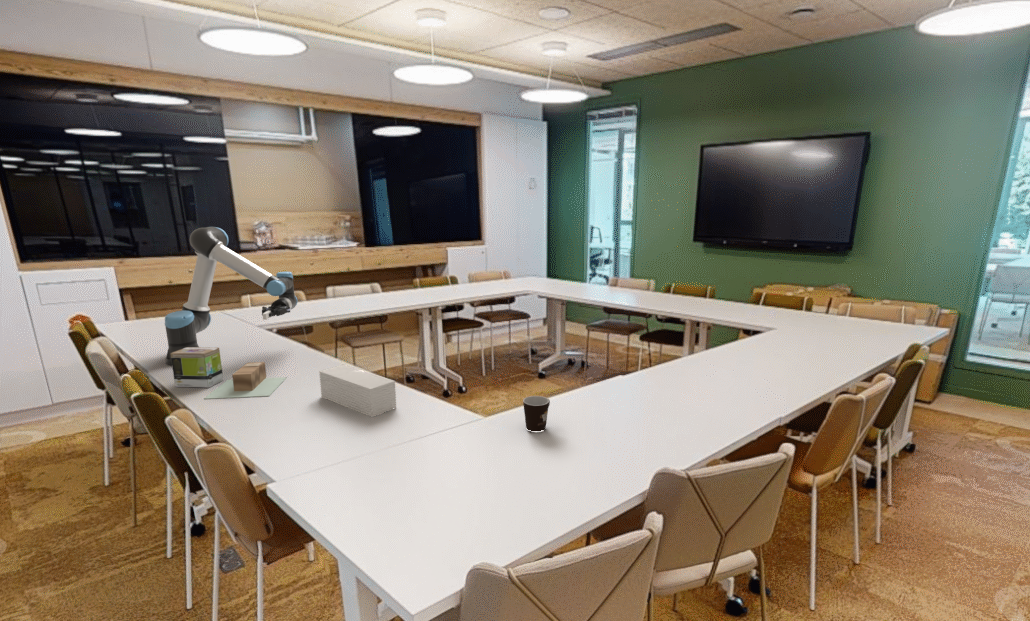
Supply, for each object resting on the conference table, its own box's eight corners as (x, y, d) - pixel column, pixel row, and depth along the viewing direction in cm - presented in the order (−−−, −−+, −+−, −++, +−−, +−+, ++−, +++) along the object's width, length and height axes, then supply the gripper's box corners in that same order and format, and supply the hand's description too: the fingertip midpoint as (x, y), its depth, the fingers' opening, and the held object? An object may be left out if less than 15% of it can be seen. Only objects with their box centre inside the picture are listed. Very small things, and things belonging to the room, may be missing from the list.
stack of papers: (396, 408, 191) (394, 380, 189) (372, 418, 183) (370, 389, 181) (345, 389, 210) (343, 364, 208) (321, 397, 202) (319, 371, 200)
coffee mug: (530, 436, 167) (531, 407, 165) (518, 426, 175) (518, 398, 173) (561, 429, 173) (561, 401, 171) (548, 420, 180) (548, 392, 178)
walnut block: (247, 362, 221) (232, 374, 206) (264, 361, 222) (250, 373, 207) (249, 378, 223) (234, 391, 207) (266, 377, 224) (252, 390, 208)
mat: (227, 380, 221) (227, 379, 221) (286, 377, 224) (286, 377, 224) (204, 399, 200) (204, 398, 200) (269, 396, 203) (269, 395, 203)
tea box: (224, 380, 221) (220, 346, 218) (208, 388, 212) (203, 353, 209) (191, 379, 223) (186, 346, 220) (174, 387, 213) (169, 352, 210)
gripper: (295, 313, 255) (280, 324, 232) (267, 313, 254) (249, 324, 231) (294, 298, 254) (279, 308, 231) (266, 298, 252) (248, 308, 229)
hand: (264, 316), depth 231 cm, fingers closed
